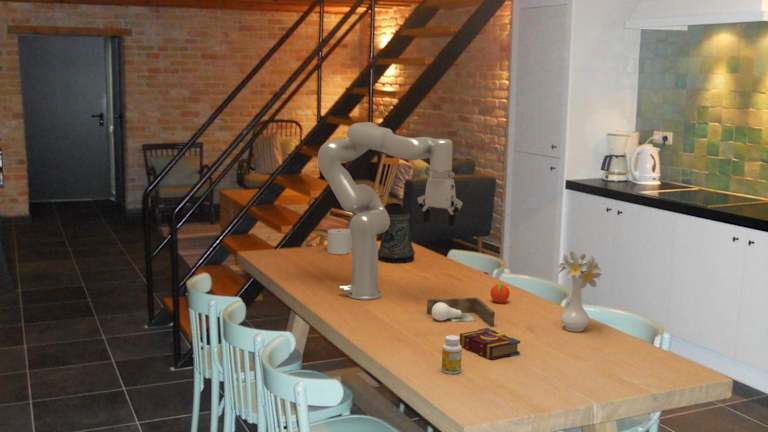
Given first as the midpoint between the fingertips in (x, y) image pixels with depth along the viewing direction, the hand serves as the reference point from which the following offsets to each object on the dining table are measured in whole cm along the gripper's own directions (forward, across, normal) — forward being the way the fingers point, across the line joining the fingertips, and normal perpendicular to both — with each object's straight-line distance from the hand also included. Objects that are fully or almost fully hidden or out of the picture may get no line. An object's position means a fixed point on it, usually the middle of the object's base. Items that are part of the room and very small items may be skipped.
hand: (439, 223), depth 292 cm
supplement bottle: (+31, -35, +53) cm, 70 cm away
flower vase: (+31, -50, -6) cm, 58 cm away
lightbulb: (+29, -13, +6) cm, 32 cm away
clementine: (+31, -15, -20) cm, 40 cm away
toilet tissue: (+31, +83, -56) cm, 104 cm away
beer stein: (+31, +54, -57) cm, 85 cm away
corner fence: (+30, -13, +7) cm, 34 cm away
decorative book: (+31, -35, +30) cm, 56 cm away
